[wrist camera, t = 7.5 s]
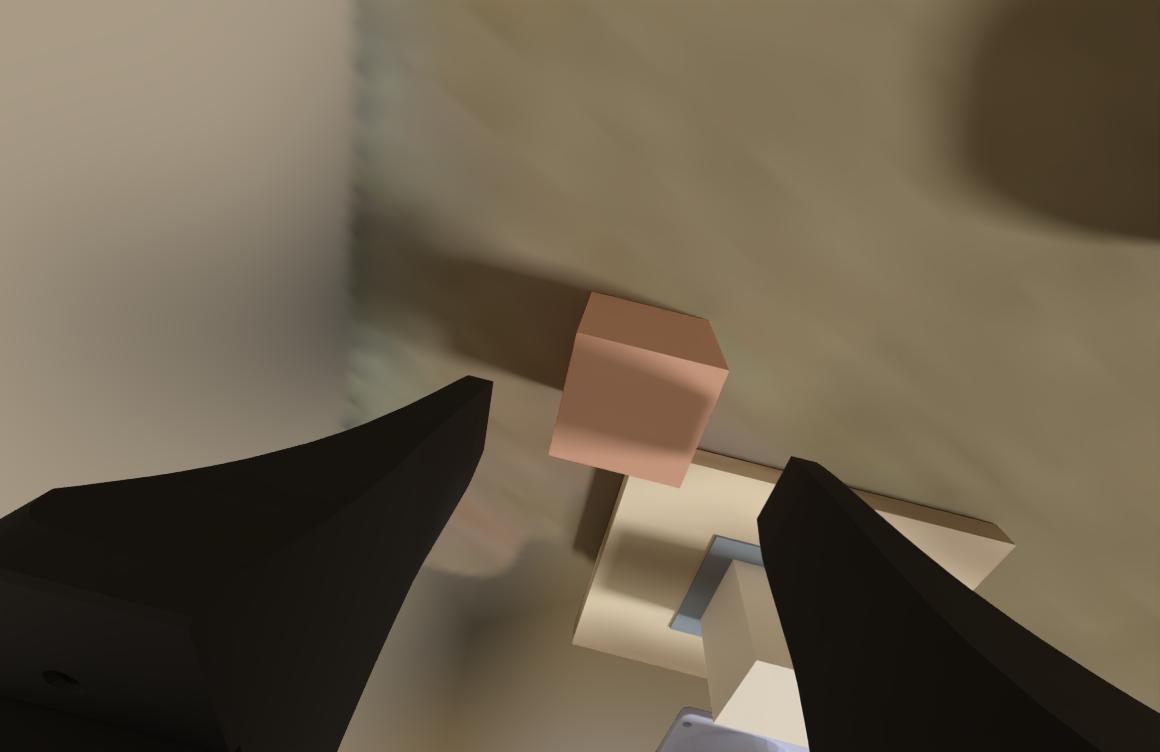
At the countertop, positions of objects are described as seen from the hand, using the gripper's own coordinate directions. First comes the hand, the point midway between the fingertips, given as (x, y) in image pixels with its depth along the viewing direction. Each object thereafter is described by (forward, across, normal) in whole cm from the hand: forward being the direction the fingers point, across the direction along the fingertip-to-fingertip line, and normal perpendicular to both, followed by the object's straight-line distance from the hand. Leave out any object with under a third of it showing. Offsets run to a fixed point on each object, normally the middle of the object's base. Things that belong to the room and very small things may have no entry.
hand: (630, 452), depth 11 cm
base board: (+6, -8, +9) cm, 13 cm away
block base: (+4, -8, +9) cm, 13 cm away
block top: (+6, 0, 0) cm, 6 cm away
